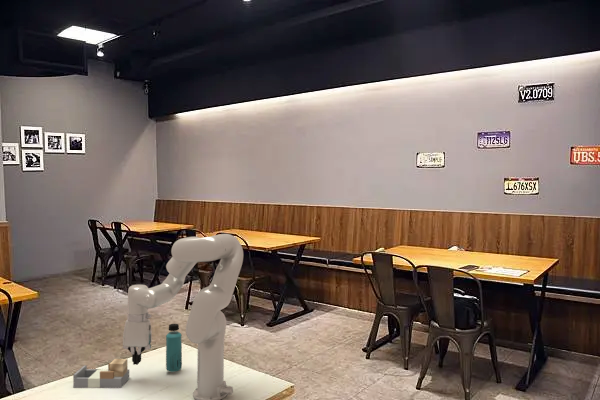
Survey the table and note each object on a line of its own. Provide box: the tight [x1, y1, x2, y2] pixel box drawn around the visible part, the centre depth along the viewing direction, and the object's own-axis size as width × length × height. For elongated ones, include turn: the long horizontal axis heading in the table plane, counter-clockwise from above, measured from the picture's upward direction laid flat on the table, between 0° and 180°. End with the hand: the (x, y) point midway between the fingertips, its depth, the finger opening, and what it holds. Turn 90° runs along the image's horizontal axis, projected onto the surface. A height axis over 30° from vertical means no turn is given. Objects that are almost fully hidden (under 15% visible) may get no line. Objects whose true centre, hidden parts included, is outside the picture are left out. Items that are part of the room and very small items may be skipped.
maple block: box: [109, 358, 128, 377], centre depth 181 cm, size 5×5×5 cm
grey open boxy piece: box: [72, 362, 130, 389], centre depth 181 cm, size 18×9×6 cm, turn 91°
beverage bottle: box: [165, 323, 183, 373], centre depth 192 cm, size 6×7×20 cm
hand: (136, 363), depth 181 cm, fingers closed
